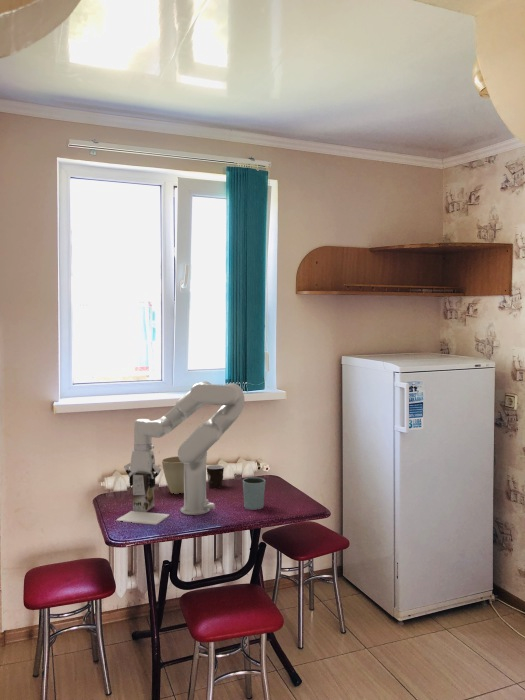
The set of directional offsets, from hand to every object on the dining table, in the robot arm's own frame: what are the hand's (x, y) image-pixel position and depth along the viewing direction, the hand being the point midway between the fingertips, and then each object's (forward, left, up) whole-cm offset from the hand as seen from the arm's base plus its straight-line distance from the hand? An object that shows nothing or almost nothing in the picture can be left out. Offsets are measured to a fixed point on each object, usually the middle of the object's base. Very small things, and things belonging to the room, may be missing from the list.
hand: (142, 486), depth 252 cm
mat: (-7, +12, -10) cm, 17 cm away
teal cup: (-47, -15, -10) cm, 50 cm away
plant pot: (-4, -29, -10) cm, 31 cm away
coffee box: (-1, 0, -10) cm, 10 cm away
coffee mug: (-19, -41, -10) cm, 46 cm away
